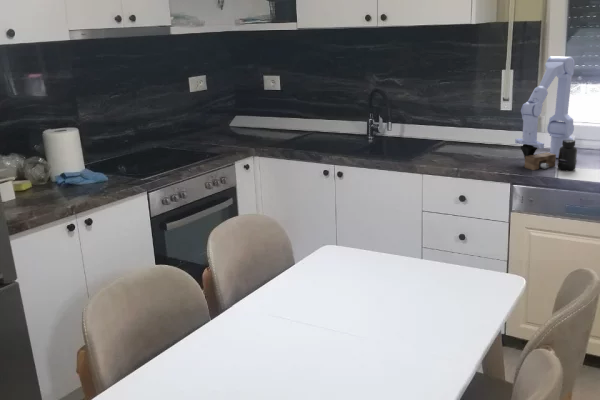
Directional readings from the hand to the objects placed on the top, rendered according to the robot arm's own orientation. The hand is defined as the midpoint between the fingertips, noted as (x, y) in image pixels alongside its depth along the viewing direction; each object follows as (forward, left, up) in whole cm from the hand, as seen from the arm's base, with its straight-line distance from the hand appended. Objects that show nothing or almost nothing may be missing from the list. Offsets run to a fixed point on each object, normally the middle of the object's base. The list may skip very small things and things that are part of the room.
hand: (528, 162), depth 266 cm
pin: (0, +6, -1) cm, 6 cm away
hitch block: (0, +6, -1) cm, 6 cm away
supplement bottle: (-7, +15, -1) cm, 16 cm away
